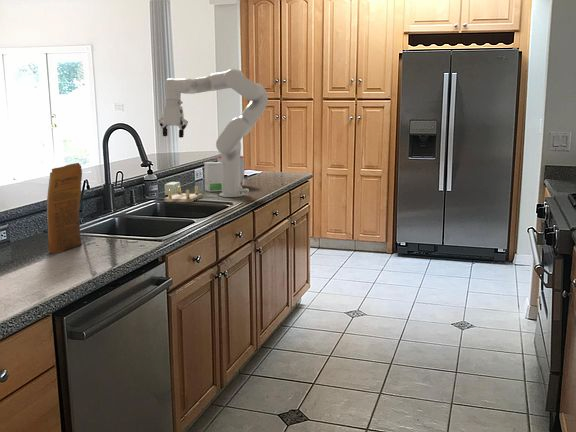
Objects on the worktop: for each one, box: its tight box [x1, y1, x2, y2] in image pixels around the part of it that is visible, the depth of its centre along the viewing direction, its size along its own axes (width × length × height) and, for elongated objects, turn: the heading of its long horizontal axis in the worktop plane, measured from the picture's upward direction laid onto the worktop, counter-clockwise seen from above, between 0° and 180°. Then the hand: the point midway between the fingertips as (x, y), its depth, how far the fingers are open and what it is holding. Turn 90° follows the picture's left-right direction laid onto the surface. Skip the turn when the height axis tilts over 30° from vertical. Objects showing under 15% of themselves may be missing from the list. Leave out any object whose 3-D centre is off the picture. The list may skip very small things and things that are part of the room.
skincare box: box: [203, 161, 222, 193], centre depth 337 cm, size 8×7×16 cm
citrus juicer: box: [216, 155, 245, 186], centre depth 355 cm, size 16×17×20 cm
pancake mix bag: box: [46, 162, 83, 254], centre depth 206 cm, size 7×19×28 cm, turn 162°
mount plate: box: [163, 185, 203, 203], centre depth 310 cm, size 14×17×6 cm
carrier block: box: [164, 181, 181, 196], centre depth 326 cm, size 5×10×6 cm, turn 171°
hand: (173, 136), depth 321 cm, fingers open, 9 cm apart
